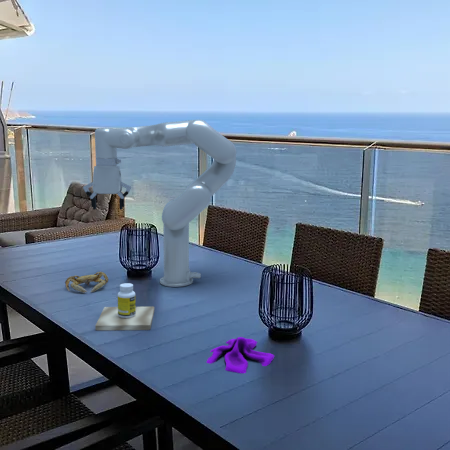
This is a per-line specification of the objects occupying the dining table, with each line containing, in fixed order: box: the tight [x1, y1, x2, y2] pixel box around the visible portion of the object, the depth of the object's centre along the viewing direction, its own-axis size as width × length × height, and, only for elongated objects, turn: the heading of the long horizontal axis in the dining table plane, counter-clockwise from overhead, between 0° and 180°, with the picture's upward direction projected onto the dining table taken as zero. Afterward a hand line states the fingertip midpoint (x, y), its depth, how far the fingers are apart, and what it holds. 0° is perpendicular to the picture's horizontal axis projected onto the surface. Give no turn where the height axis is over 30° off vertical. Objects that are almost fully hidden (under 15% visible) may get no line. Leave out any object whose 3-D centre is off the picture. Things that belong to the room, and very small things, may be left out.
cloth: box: [205, 336, 275, 374], centre depth 141 cm, size 22×19×6 cm
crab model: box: [64, 271, 109, 294], centre depth 197 cm, size 16×13×6 cm
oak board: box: [94, 306, 155, 331], centre depth 166 cm, size 16×16×2 cm
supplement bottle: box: [117, 282, 137, 318], centre depth 165 cm, size 5×5×10 cm
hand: (107, 209), depth 198 cm, fingers open, 9 cm apart
